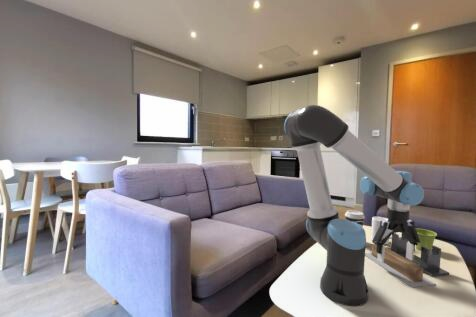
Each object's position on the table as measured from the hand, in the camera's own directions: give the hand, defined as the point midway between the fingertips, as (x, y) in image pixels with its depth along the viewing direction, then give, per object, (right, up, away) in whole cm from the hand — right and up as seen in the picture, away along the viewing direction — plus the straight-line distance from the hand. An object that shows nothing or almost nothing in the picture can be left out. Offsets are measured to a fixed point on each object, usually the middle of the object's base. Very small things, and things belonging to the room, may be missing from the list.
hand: (395, 260), depth 99 cm
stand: (+12, -3, +6) cm, 14 cm away
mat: (0, -3, 0) cm, 3 cm away
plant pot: (+26, -3, +19) cm, 32 cm away
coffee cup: (-4, -2, +28) cm, 28 cm away
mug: (+11, -2, +26) cm, 29 cm away
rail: (0, -3, 0) cm, 3 cm away
